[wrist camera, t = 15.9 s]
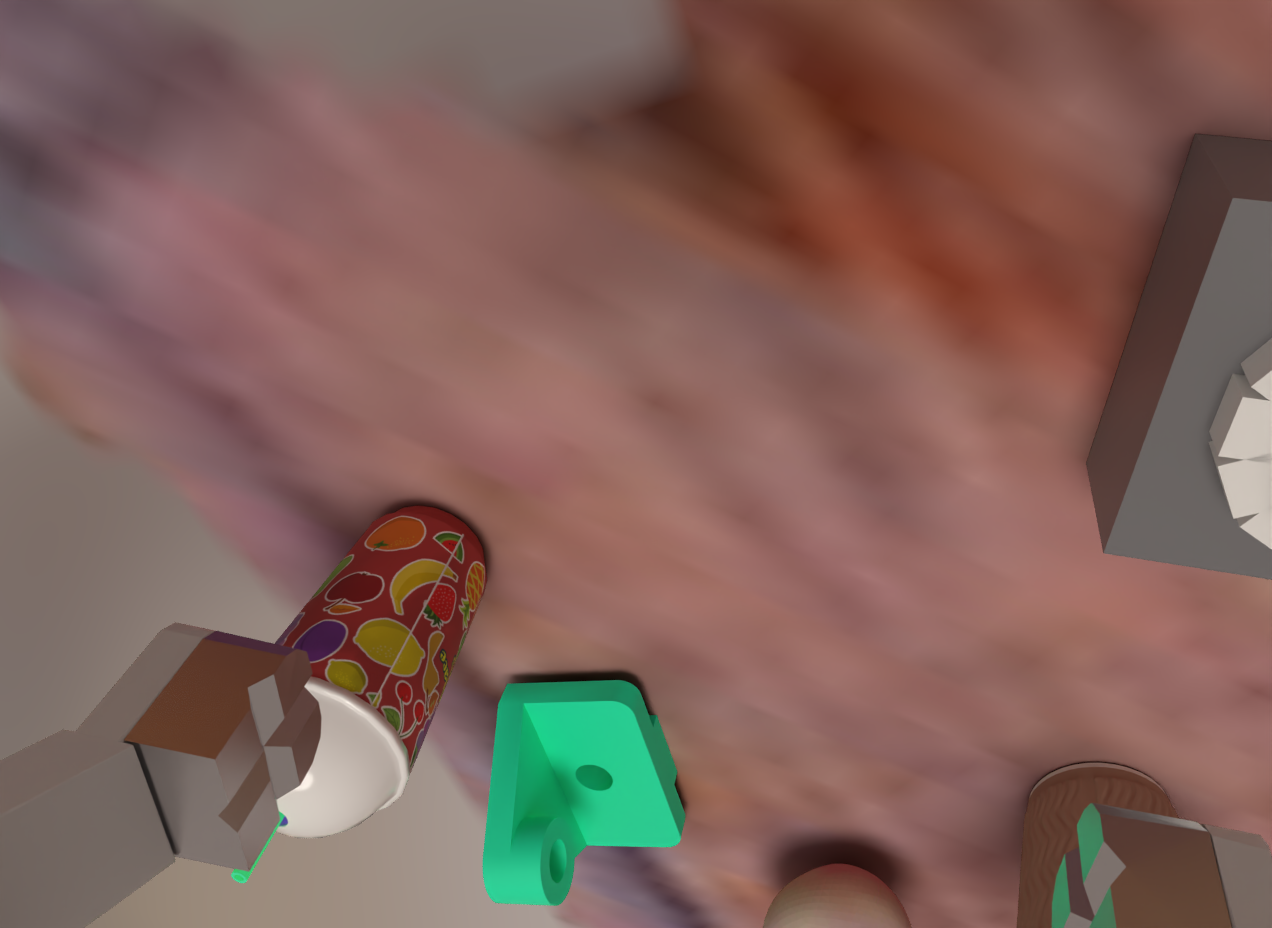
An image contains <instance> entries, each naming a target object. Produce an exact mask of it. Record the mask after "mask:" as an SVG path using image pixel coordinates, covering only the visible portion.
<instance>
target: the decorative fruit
mask: <svg viewBox="0 0 1272 928" xmlns="http://www.w3.org/2000/svg"><path fill="white" fill-rule="evenodd" d="M763 928H912V927H911V924H910V921H909V918H908V916H907V914H906V912H905V910H904V908H903V906H902V904H901V903H900V901H899V900H898V898H897V897H896V895H895V894H894V893H893V892H892V890H891V889H890V888H889V887H888V886H887V885H886V884H885V883H884V882H883V881H882V880H880V879H879V878H878V877H876V876H875V875H873V874H872V873H870V872H868V871H866V870H864V869H862V868H859V867H856V866H852V865H849V864H829V865H824V866H821V867H818V868H815V869H812V870H810V871H808V872H806V873H804V874H802V875H801V876H799V877H797V878H796V879H794V880H793V881H792V882H790V883H789V884H788V885H786V886H785V887H784V888H783V889H782V890H781V891H780V892H779V893H778V895H777V896H776V897H775V899H774V900H773V902H772V904H771V906H770V907H769V909H768V912H767V915H766V917H765V920H764V925H763Z"/></svg>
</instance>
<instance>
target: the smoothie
mask: <svg viewBox="0 0 1272 928" xmlns="http://www.w3.org/2000/svg"><path fill="white" fill-rule="evenodd" d="M486 583H487V576H486V568H485V560H484V553H483V548H482V546H481V544H480V542H479V540H478V538H477V537H476V535H475V534H474V533H473V532H472V531H471V530H470V529H469V527H468V526H467V525H466V524H465V523H463V522H462V521H460V520H459V519H457V518H456V517H454V516H453V515H451V514H450V513H447V512H444V511H442V510H439V509H437V508H434V507H426V506H411V507H405V508H402V509H400V510H398V511H396V512H395V513H390V514H386V515H384V516H383V517H381V518H379V519H377V520H376V521H374V522H373V523H372V524H371V525H370V527H369V528H368V529H367V530H366V531H365V533H364V534H363V535H362V536H361V538H360V539H359V540H358V541H357V543H356V544H355V545H354V546H353V548H352V549H351V550H350V551H349V552H348V554H347V555H346V556H345V557H344V559H343V560H342V561H341V562H340V564H339V565H338V566H337V567H336V568H335V570H334V571H333V572H332V573H331V575H330V576H329V577H328V578H327V580H326V581H325V582H324V583H323V585H322V586H321V587H320V588H319V589H318V591H317V592H316V593H315V594H314V596H313V597H312V598H311V599H310V601H309V602H308V603H307V604H306V606H305V607H304V608H303V609H302V610H301V612H300V613H299V614H298V615H297V617H296V618H295V619H294V620H293V622H292V623H291V624H290V625H289V626H288V628H287V629H286V630H285V631H284V633H283V634H282V635H281V636H280V638H279V639H278V640H277V641H276V643H275V644H278V645H282V646H287V647H291V648H296V649H299V650H303V651H306V652H307V654H308V658H309V661H310V665H311V669H312V673H313V674H312V675H311V677H310V678H309V680H308V682H307V683H306V685H305V686H304V687H305V688H306V689H307V690H308V691H309V692H310V693H311V694H312V695H313V696H314V697H315V699H316V700H317V701H318V702H319V707H320V712H321V717H322V719H321V738H320V741H319V744H318V747H317V751H316V754H315V757H314V760H313V764H312V765H311V767H310V769H309V771H308V772H307V774H306V776H305V778H304V780H303V781H302V783H301V785H300V786H299V787H297V788H295V789H294V790H292V791H290V792H289V793H287V794H285V795H284V796H282V797H280V798H279V799H277V803H278V810H279V816H280V821H279V822H278V824H277V826H276V827H275V829H274V831H273V832H272V834H271V836H270V837H269V839H268V841H267V842H266V844H265V846H264V848H263V849H262V851H261V853H260V854H259V856H258V858H257V859H256V861H255V863H254V864H253V866H252V868H251V869H250V871H249V872H248V871H243V870H238V869H234V871H233V872H232V874H231V876H232V878H233V879H234V880H235V881H237V882H240V883H246V881H247V880H248V878H249V876H250V874H251V873H252V871H253V869H254V868H255V866H256V864H257V862H258V861H259V859H260V857H261V855H262V854H263V852H264V851H265V849H266V847H267V845H268V844H269V842H270V840H271V838H272V837H273V835H274V833H275V832H277V833H280V834H282V835H286V836H290V837H295V838H323V837H326V836H330V835H334V834H337V833H340V832H344V831H347V830H349V829H351V828H353V827H355V826H357V825H359V824H361V823H362V822H363V821H365V820H366V819H367V818H369V817H370V816H371V815H373V814H374V813H375V812H376V811H377V810H380V809H384V808H387V807H389V806H390V805H391V804H392V803H394V802H395V801H396V800H397V799H398V798H399V797H400V796H401V795H403V793H404V790H405V787H406V784H407V781H408V778H409V775H410V773H411V771H412V768H413V766H414V763H415V761H416V758H417V756H418V753H419V751H420V748H421V746H422V743H423V741H424V739H425V736H426V734H427V731H428V729H429V726H430V724H431V721H432V719H433V716H434V714H435V711H436V709H437V707H438V704H439V702H440V699H441V697H442V694H443V692H444V689H445V687H446V684H447V682H448V680H449V677H450V675H451V672H452V670H453V667H454V665H455V662H456V660H457V657H458V655H459V652H460V650H461V648H462V645H463V643H464V640H465V638H466V635H467V633H468V630H469V628H470V625H471V623H472V620H473V618H474V616H475V613H476V611H477V608H478V606H479V603H480V601H481V598H482V596H483V594H484V590H485V586H486Z"/></svg>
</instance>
